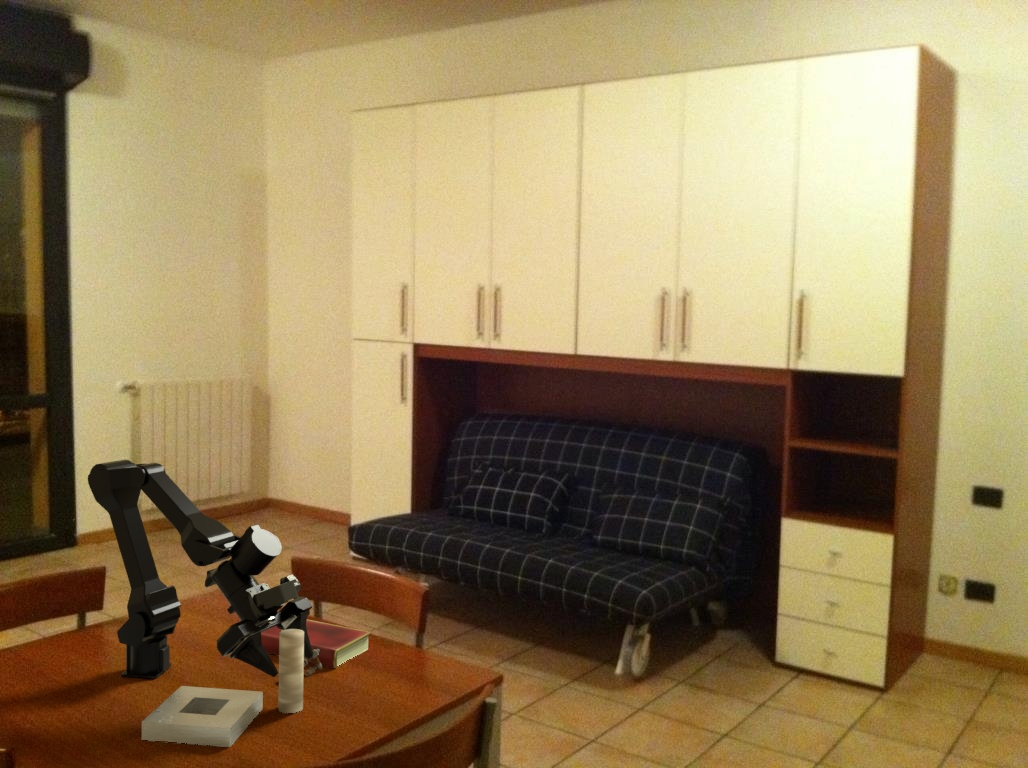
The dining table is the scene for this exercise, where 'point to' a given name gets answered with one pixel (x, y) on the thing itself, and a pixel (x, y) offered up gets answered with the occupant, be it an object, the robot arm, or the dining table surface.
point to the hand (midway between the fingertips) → (294, 666)
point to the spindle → (291, 670)
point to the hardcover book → (324, 642)
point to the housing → (203, 716)
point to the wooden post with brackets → (318, 664)
